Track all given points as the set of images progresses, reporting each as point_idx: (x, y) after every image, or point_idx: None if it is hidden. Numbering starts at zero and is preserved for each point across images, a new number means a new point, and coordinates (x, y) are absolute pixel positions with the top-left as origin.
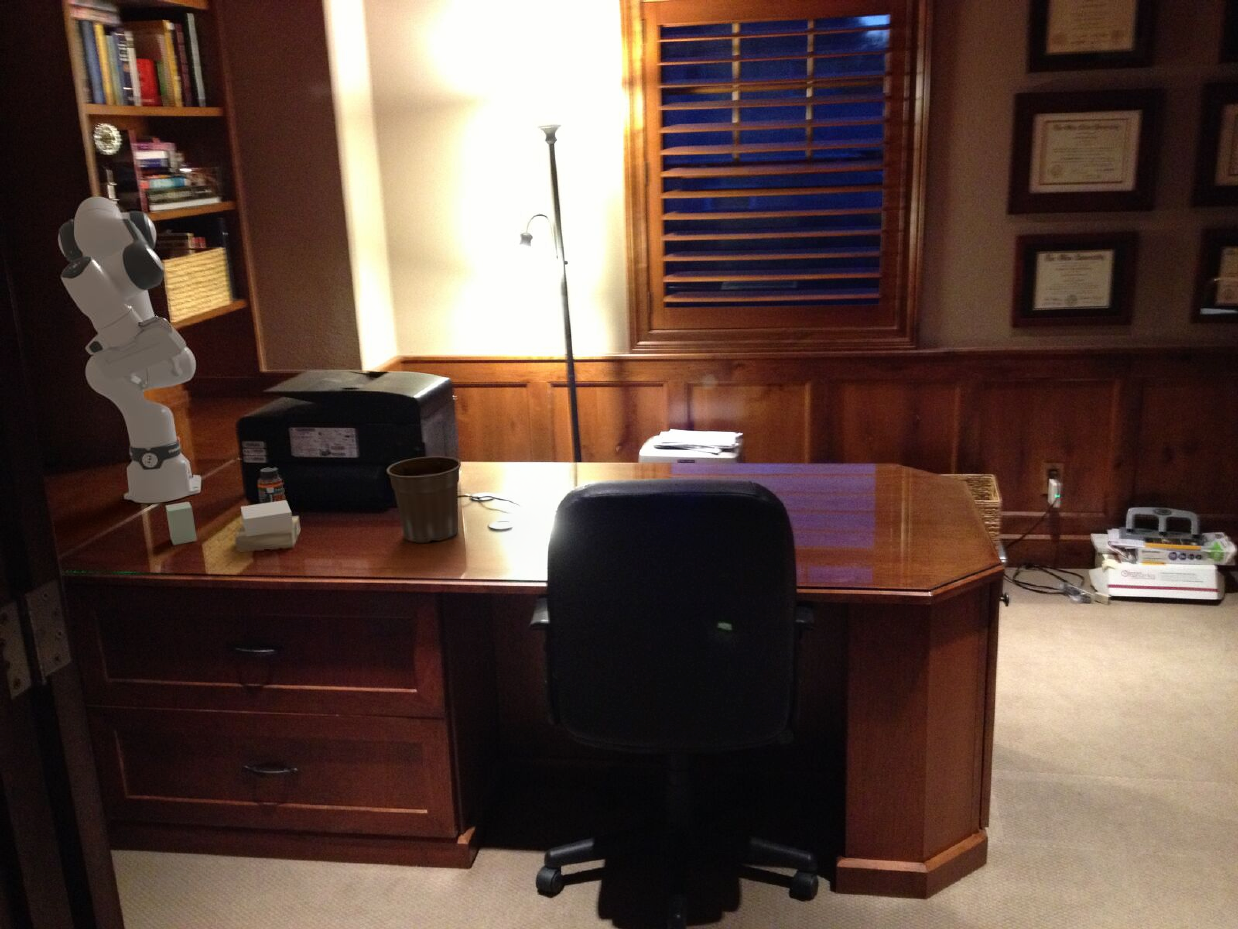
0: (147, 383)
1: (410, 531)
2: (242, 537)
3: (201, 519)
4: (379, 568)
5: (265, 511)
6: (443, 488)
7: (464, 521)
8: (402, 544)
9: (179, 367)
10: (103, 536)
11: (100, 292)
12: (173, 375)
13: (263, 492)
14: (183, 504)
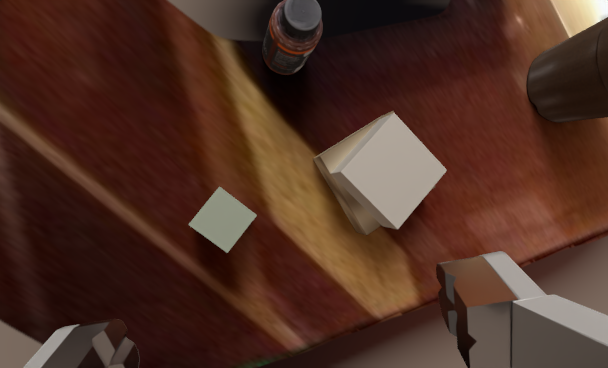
0: (108, 333)
1: (566, 119)
2: (375, 228)
3: (165, 112)
4: (563, 216)
5: (403, 181)
6: None
7: (566, 27)
8: (543, 131)
9: (531, 286)
10: (35, 254)
11: None
12: (455, 332)
13: (295, 58)
14: (223, 205)
